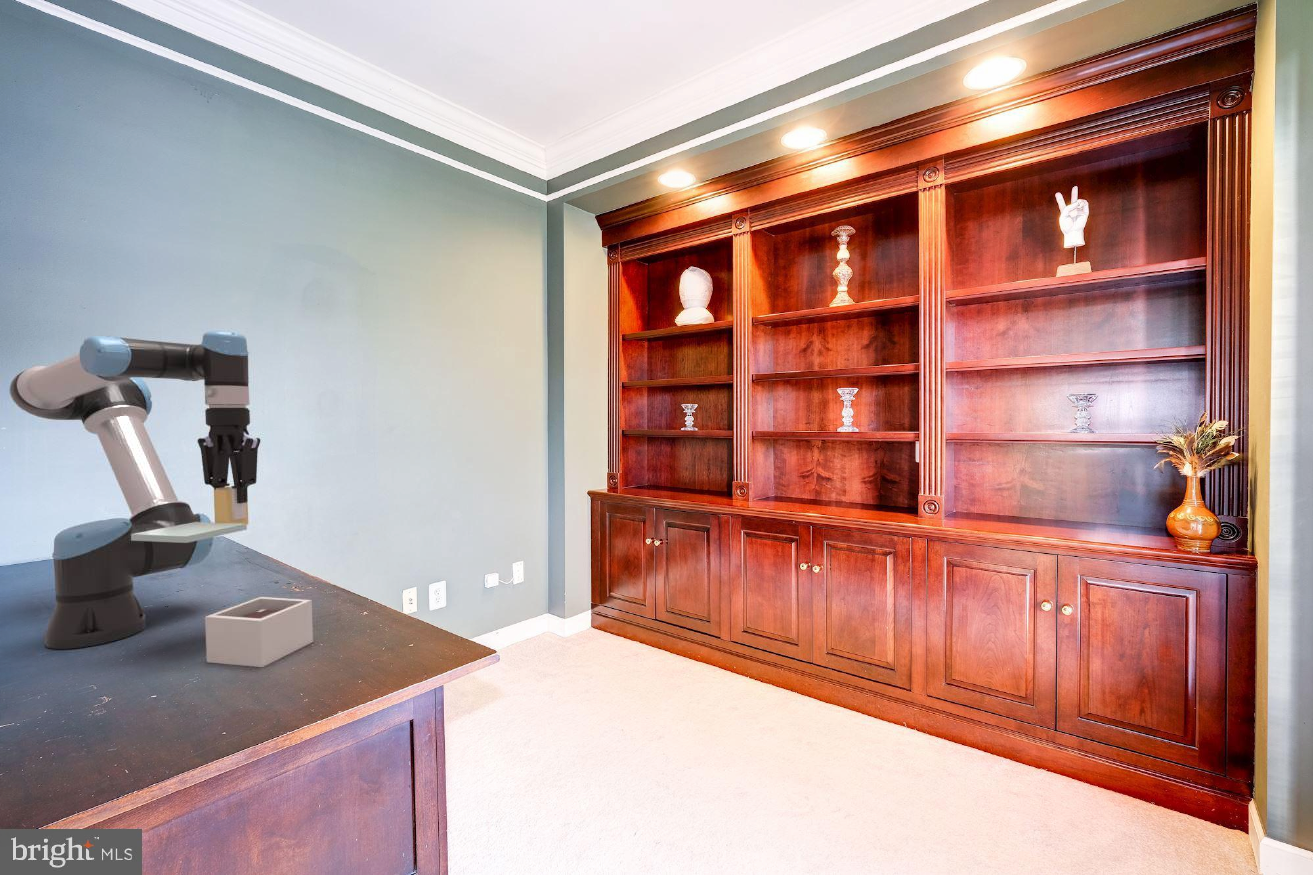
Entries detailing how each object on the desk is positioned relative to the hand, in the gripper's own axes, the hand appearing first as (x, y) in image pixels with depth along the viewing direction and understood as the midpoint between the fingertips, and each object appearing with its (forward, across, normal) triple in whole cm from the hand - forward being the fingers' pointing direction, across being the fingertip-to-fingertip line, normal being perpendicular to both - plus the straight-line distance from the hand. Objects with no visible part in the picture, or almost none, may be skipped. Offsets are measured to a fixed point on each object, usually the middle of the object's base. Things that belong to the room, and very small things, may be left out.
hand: (231, 518), depth 124 cm
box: (+24, +15, -9) cm, 30 cm away
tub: (+24, +15, -9) cm, 30 cm away
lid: (+2, 0, -6) cm, 7 cm away
